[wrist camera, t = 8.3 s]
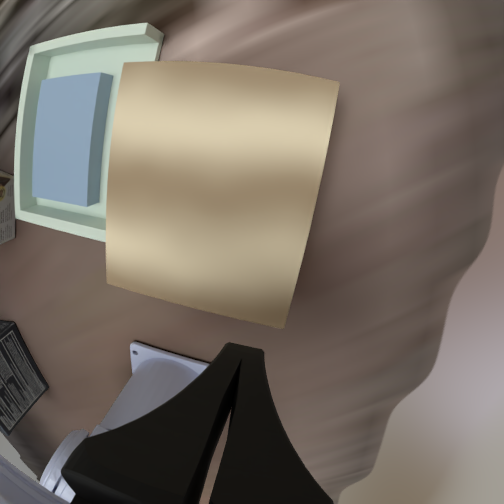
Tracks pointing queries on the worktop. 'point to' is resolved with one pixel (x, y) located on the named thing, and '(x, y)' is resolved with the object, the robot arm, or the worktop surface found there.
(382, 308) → the worktop surface
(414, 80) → the worktop surface
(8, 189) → the coffee box
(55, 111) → the blue rectangular block
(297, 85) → the tan flat block
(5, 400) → the small box
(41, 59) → the tray
